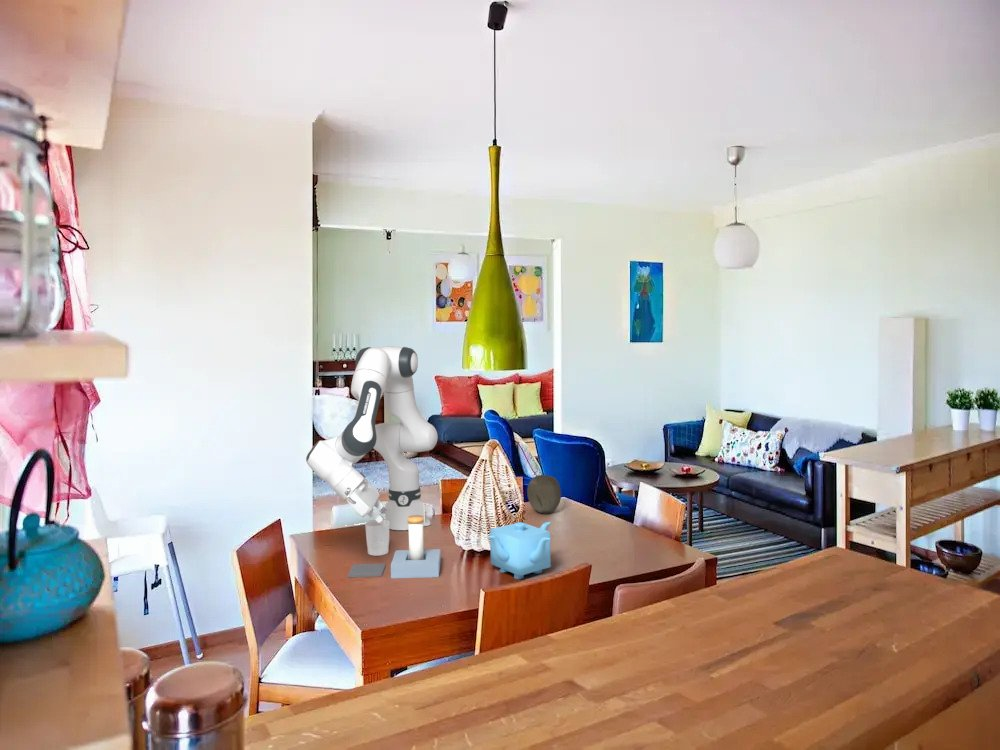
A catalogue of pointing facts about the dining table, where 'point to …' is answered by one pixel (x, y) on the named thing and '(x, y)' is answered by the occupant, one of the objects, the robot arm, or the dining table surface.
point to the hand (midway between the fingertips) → (383, 516)
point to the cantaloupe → (544, 493)
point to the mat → (367, 570)
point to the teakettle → (520, 548)
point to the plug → (416, 537)
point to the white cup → (377, 537)
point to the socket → (416, 564)
